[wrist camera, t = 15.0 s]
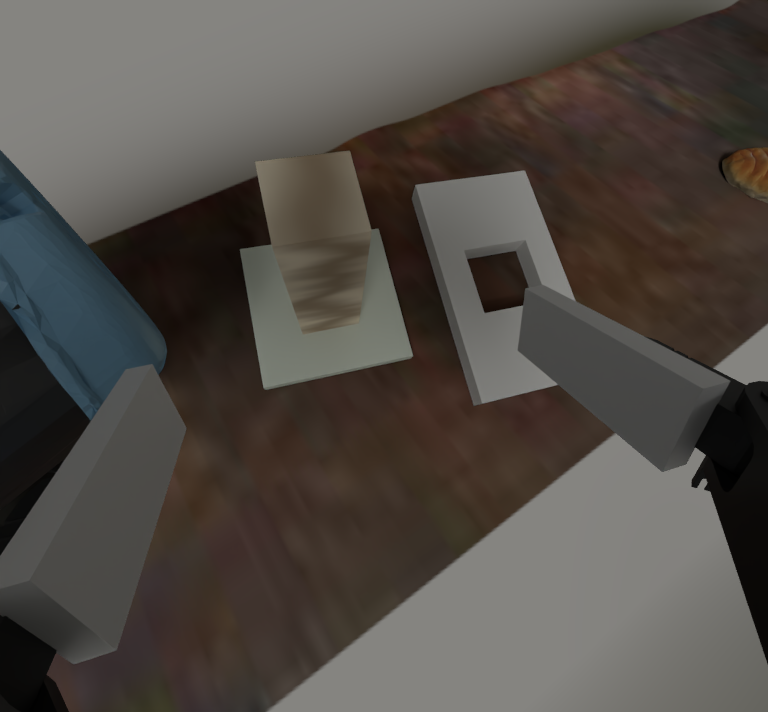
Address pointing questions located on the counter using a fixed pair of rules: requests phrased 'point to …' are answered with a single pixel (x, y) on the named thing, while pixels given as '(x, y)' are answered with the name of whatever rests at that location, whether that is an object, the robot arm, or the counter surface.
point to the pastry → (748, 172)
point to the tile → (328, 347)
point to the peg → (318, 235)
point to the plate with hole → (456, 284)
